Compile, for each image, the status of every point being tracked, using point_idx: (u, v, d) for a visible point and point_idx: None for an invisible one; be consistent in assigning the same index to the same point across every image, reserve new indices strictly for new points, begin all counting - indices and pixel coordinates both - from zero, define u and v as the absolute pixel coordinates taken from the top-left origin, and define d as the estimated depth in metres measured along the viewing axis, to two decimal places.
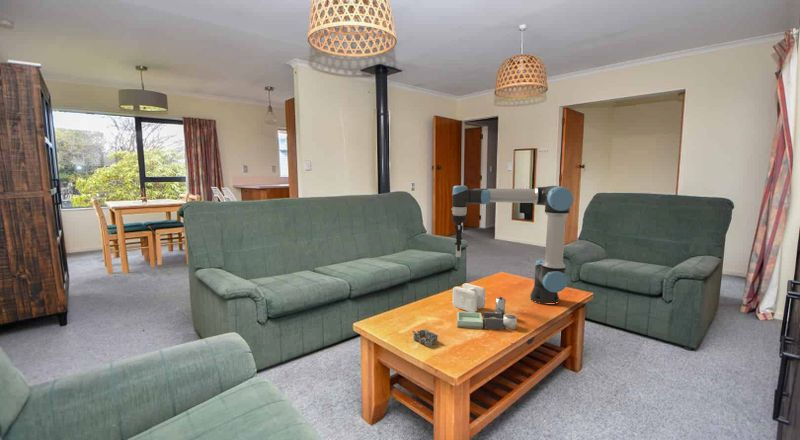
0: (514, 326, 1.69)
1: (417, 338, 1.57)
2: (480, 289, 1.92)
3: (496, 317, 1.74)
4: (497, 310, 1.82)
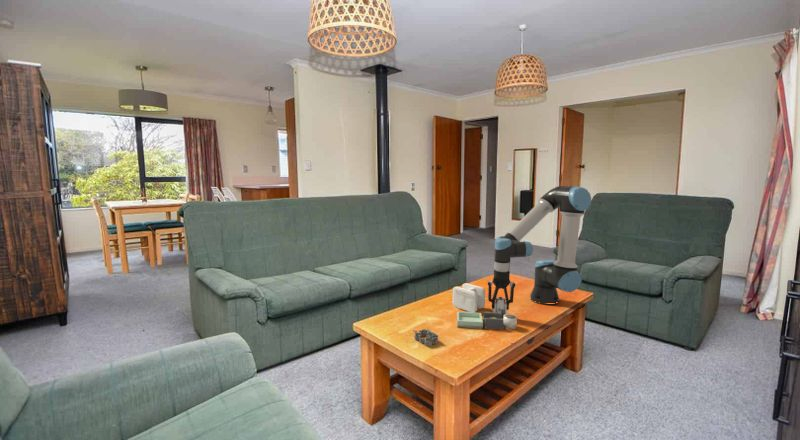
0: (514, 326, 1.69)
1: (418, 337, 1.57)
2: (480, 289, 1.92)
3: (496, 317, 1.74)
4: (497, 310, 1.82)
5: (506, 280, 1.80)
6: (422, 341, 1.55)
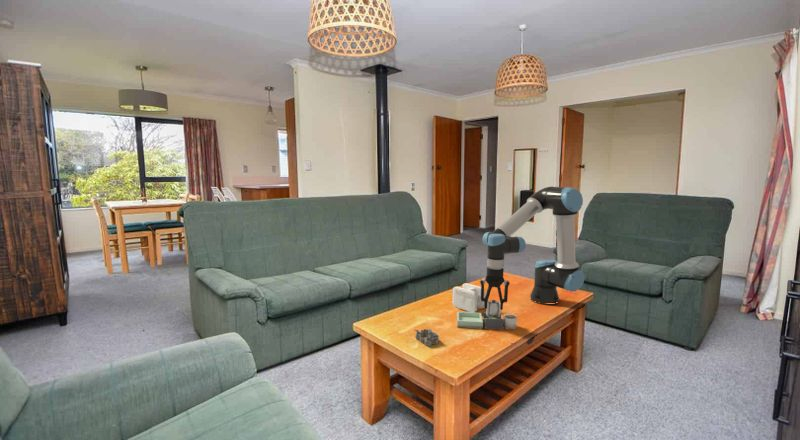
0: (514, 326, 1.69)
1: (419, 337, 1.58)
2: (480, 289, 1.92)
3: None
4: (490, 314, 1.71)
5: (500, 278, 1.69)
6: (422, 341, 1.55)
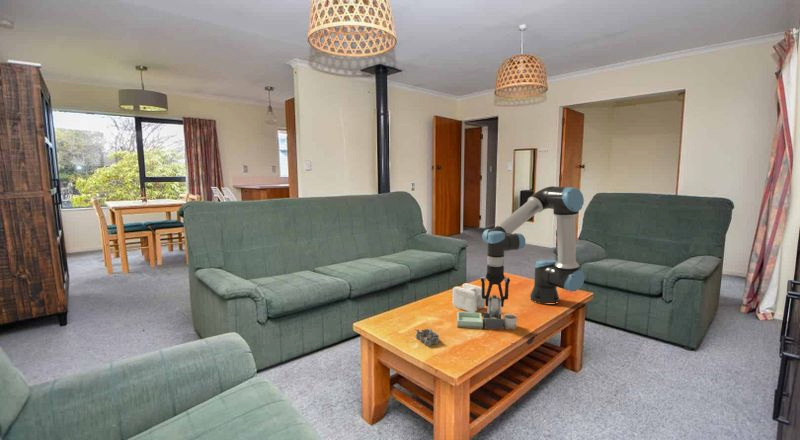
0: (514, 326, 1.69)
1: (419, 336, 1.58)
2: (480, 289, 1.92)
3: None
4: (491, 309, 1.71)
5: (500, 275, 1.69)
6: (422, 340, 1.55)
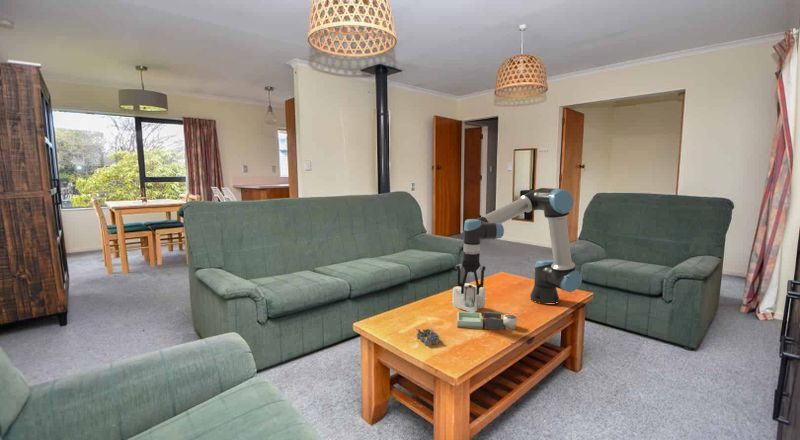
0: (514, 326, 1.69)
1: (420, 336, 1.59)
2: (480, 289, 1.92)
3: None
4: (466, 299, 1.73)
5: (476, 263, 1.71)
6: (423, 340, 1.56)
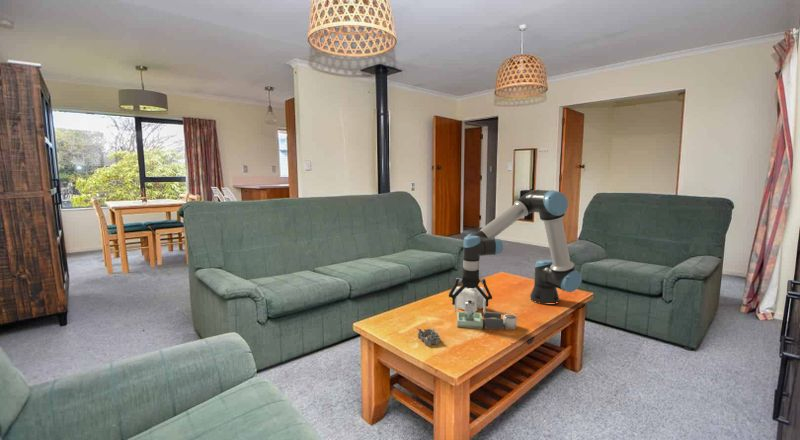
0: (514, 326, 1.69)
1: (420, 336, 1.59)
2: None
3: None
4: (466, 314, 1.74)
5: (475, 280, 1.72)
6: (423, 340, 1.56)
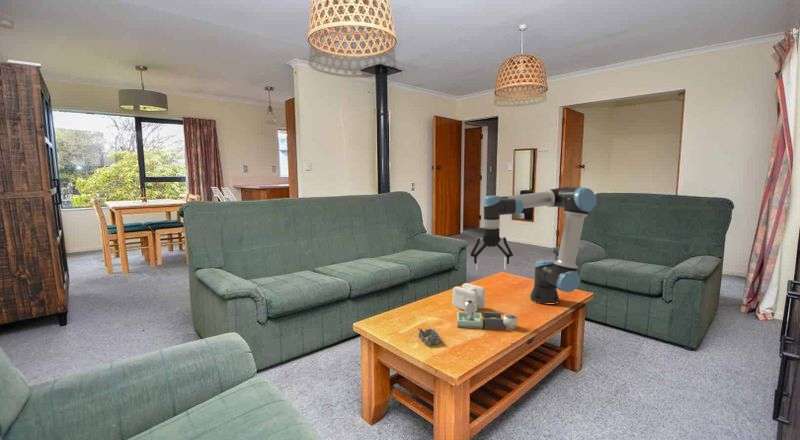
0: (514, 326, 1.69)
1: None
2: (480, 289, 1.92)
3: None
4: (466, 314, 1.74)
5: (495, 238, 1.77)
6: (423, 340, 1.56)
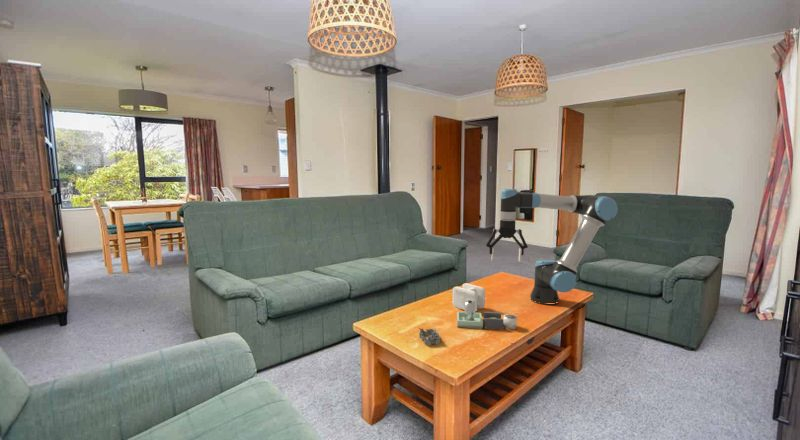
0: (514, 326, 1.69)
1: None
2: (480, 289, 1.92)
3: None
4: (466, 314, 1.74)
5: (511, 230, 1.84)
6: (424, 339, 1.56)
